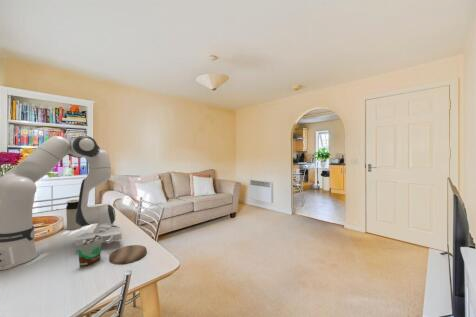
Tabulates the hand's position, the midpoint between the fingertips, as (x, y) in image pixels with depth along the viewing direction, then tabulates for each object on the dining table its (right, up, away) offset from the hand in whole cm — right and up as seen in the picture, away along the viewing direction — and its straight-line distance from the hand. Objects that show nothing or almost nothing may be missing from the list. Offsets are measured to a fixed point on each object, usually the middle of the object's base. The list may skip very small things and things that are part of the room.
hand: (96, 243), depth 105 cm
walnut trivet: (+16, -5, -1) cm, 17 cm away
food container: (+3, -6, -6) cm, 9 cm away
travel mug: (-39, -4, +37) cm, 54 cm away
